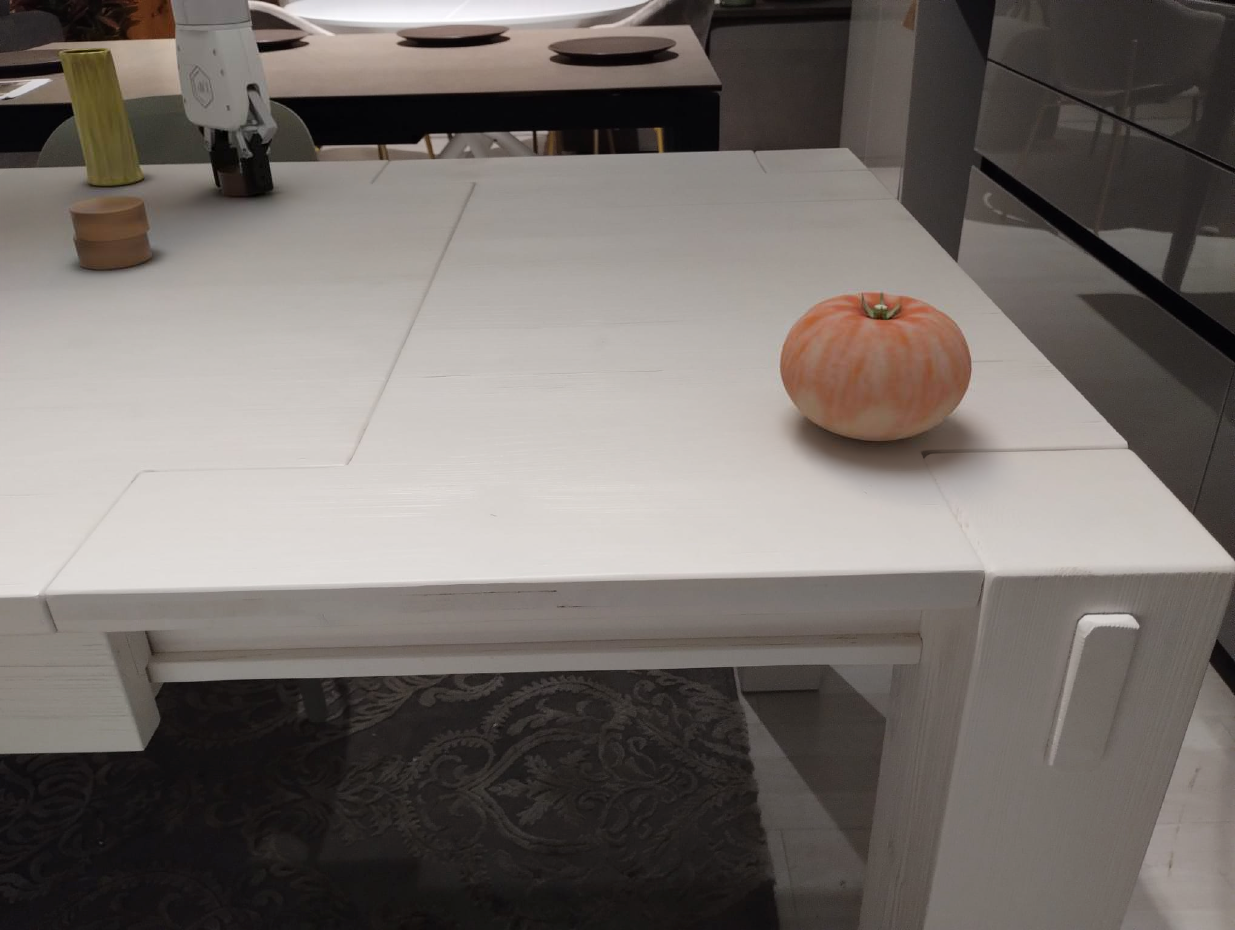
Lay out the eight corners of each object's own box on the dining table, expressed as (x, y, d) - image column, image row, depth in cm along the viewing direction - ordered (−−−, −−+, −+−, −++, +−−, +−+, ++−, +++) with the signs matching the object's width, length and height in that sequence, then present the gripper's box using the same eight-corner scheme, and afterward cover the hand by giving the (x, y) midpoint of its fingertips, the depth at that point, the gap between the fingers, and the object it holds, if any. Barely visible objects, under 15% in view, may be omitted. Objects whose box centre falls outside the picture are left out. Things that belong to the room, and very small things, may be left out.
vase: (88, 189, 116) (53, 55, 109) (88, 178, 120) (55, 49, 114) (145, 183, 118) (114, 51, 111) (143, 172, 123) (114, 46, 116)
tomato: (749, 398, 64) (755, 276, 60) (904, 379, 66) (920, 261, 63) (821, 479, 55) (834, 342, 51) (998, 454, 57) (1024, 320, 53)
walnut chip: (212, 192, 114) (208, 169, 112) (251, 183, 117) (247, 161, 116) (238, 198, 111) (234, 175, 110) (277, 189, 114) (273, 167, 113)
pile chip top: (64, 234, 90) (56, 206, 89) (128, 219, 94) (121, 192, 93) (97, 246, 87) (90, 217, 86) (162, 230, 91) (156, 202, 90)
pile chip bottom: (67, 261, 91) (60, 234, 90) (131, 246, 95) (124, 219, 94) (101, 274, 88) (93, 246, 87) (165, 257, 92) (158, 230, 91)
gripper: (134, 11, 107) (173, 185, 116) (226, 19, 98) (260, 207, 107) (198, 6, 112) (230, 172, 121) (292, 13, 103) (319, 193, 112)
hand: (244, 187), depth 114 cm, fingers open, 5 cm apart
